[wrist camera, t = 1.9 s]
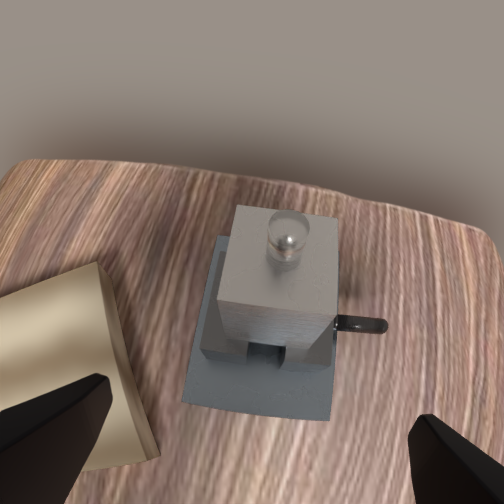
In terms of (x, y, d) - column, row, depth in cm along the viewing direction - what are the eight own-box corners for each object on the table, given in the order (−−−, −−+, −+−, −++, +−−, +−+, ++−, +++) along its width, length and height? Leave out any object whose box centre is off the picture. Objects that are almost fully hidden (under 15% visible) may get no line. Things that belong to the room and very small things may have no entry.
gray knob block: (308, 348, 16) (353, 294, 9) (226, 338, 16) (211, 275, 9) (314, 275, 18) (349, 187, 11) (239, 265, 18) (236, 172, 12)
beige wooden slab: (160, 455, 16) (147, 460, 14) (1, 473, 13) (-21, 473, 11) (111, 279, 23) (96, 260, 20) (-22, 326, 20) (-41, 315, 17)
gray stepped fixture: (363, 421, 18) (422, 418, 11) (187, 403, 19) (153, 393, 12) (367, 268, 24) (408, 207, 17) (219, 249, 25) (210, 178, 18)
